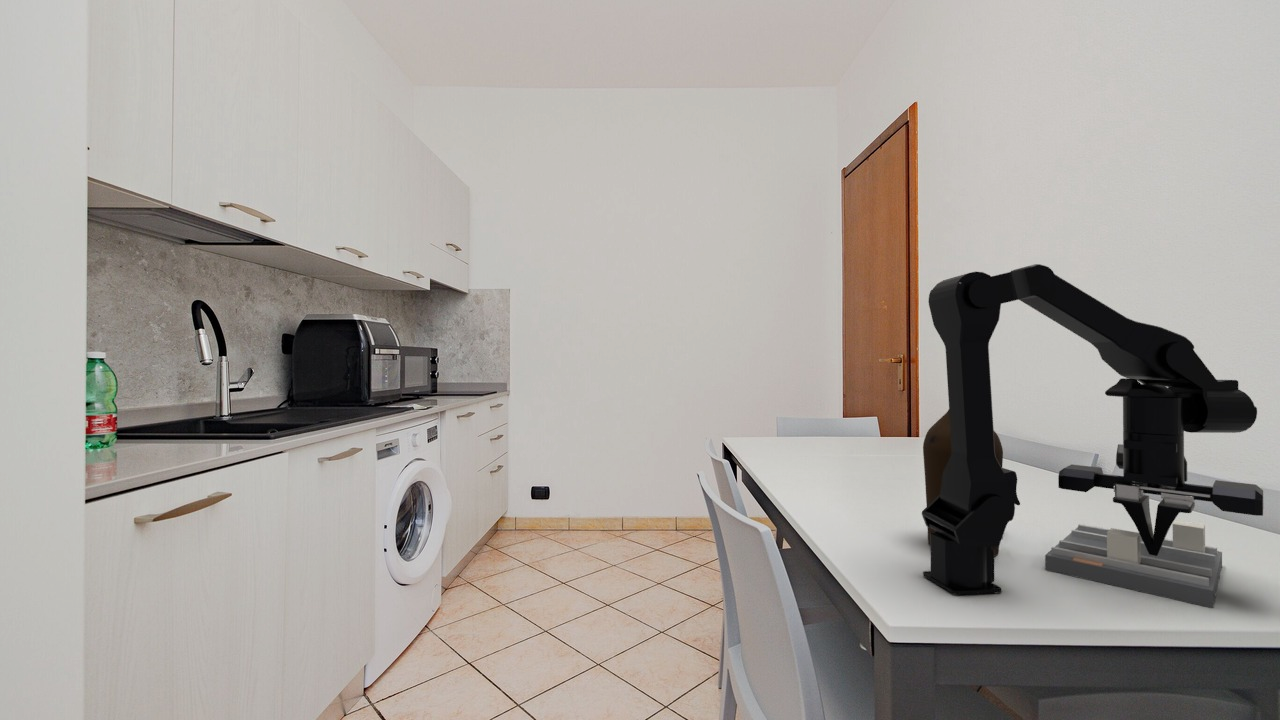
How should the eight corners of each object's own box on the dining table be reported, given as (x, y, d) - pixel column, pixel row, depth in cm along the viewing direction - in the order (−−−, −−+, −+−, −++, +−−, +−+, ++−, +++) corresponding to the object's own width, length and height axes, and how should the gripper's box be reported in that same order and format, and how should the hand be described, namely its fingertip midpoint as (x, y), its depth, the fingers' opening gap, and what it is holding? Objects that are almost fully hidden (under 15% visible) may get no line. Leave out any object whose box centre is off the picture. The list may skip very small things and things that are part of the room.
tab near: (1137, 566, 71) (1137, 537, 71) (1107, 560, 73) (1106, 532, 73) (1141, 561, 73) (1140, 533, 73) (1111, 555, 75) (1111, 528, 75)
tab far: (1203, 556, 74) (1203, 528, 75) (1172, 550, 77) (1172, 523, 77) (1205, 551, 76) (1204, 524, 77) (1175, 545, 79) (1174, 519, 79)
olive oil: (988, 566, 77) (987, 387, 78) (911, 546, 85) (910, 385, 86) (1014, 549, 84) (1012, 385, 84) (940, 533, 92) (939, 384, 92)
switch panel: (1212, 608, 64) (1212, 583, 64) (1045, 569, 76) (1045, 549, 76) (1222, 566, 77) (1221, 546, 77) (1078, 539, 89) (1078, 521, 89)
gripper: (1263, 434, 69) (1264, 559, 69) (1076, 422, 83) (1076, 526, 83) (1262, 442, 62) (1263, 582, 61) (1057, 428, 76) (1057, 542, 75)
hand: (1153, 554), depth 70 cm, fingers closed
